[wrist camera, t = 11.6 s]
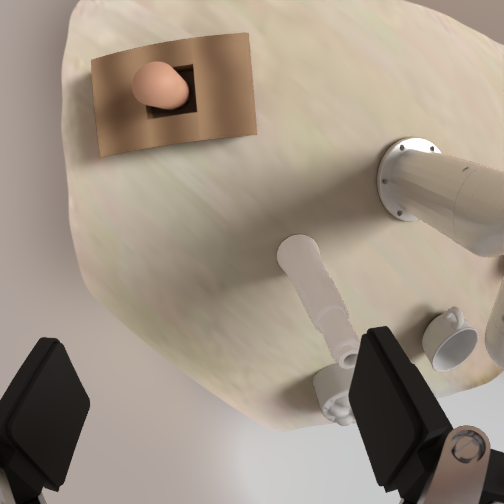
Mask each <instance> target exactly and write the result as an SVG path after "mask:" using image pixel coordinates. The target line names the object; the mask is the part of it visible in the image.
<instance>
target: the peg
mask: <svg viewBox="0 0 504 504" xmlns="http://www.w3.org/2000/svg"><path fill="white" fill-rule="evenodd" d="M132 92H133V94H134V96H135V98H136V99H137V100H138V101H139V102H141V103H142V104H145V105H149V106H153V107H158V108H163V109H167V110H172V111H175V110H180V109H182V108H184V107H185V106H186V105H187V104H188V103H189V101H190V99H191V95H192V92H191V88H190V86H189V85H188V84H187V83H186V82H185V81H184V80H183V78H182V77H181V76H180V75H179V74H178V73H177V72H176V71H175V70H174V69H173V68H172V67H171V66H170V65H168V64H166V63H164V62H159V61H158V62H150V63H147V64H145V65H144V66H142V67H141V68H140V69H139V70H138V71H137V72H136V74H135V75H134V77H133V80H132Z"/></svg>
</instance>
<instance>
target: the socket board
mask: <svg viewBox="0 0 504 504" xmlns="http://www.w3.org/2000/svg"><path fill="white" fill-rule="evenodd" d="M158 61H159V62H164V63H166V64H168V65H170V66H171V67H172V68H173V69H174V70H175V71H176V72H177V73H178V74H179V75H180V76H181V77H182V78H183V80H184V81H185V82H186V83H187V84H188V85H189V86H190V88H191V92H192V95H191V99H190V101H189V103H188V104H187V105H186V106H185V107H184V108H182V109H180V110H175V111H172V110H167V109H163V108H158V107H153V106H149V105H145V104H142V103H141V102H139V101H138V100H137V99H136V98H135V96H134V94H133V92H132V80H133V77H134V75H135V74H136V72H137V71H138V70H139V69H140V68H141V67H142V66H144V65H145V64H147V63H150V62H158ZM91 69H92V85H93V98H94V109H95V119H96V128H97V136H98V143H99V151H100V157H104V156H108V155H113V154H118V153H123V152H129V151H134V150H140V149H145V148H151V147H157V146H164V145H170V144H177V143H184V142H192V141H200V140H208V139H217V138H226V137H237V136H248V135H257V126H256V114H255V102H254V90H253V78H252V66H251V55H250V43H249V33H237V34H224V35H213V36H204V37H196V38H189V39H182V40H175V41H169V42H164V43H158V44H153V45H148V46H143V47H139V48H134V49H130V50H126V51H122V52H118V53H114V54H110V55H106V56H103V57H99V58H96V59H92V60H91Z"/></svg>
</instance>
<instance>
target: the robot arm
mask: <svg viewBox="0 0 504 504" xmlns="http://www.w3.org/2000/svg"><path fill="white" fill-rule="evenodd" d="M399 147H400V148H399ZM382 180H383V182H382ZM377 186H378V193H379V196H380V199H381V201H382V203H383V205H384V206H385V208H386V209H387V210H388V211H389V212H390V213H391V214H392V215H393V216H395V217H396V218H398V219H401V220H403V221H408V222H414V221H419V220H422V221H423V222H425V223H427V224H428V225H430V226H432V227H433V228H435V229H436V230H438V231H439V232H441V233H443V234H444V235H446V236H447V237H449V238H450V239H452V240H453V241H455V242H456V243H458V244H459V245H461V246H462V247H464V248H466V249H467V250H469V251H470V252H472V253H474V254H475V255H478V256H481V257H496V256H500V255H503V254H504V172H503V171H500V170H497V169H494V168H490V167H487V166H484V165H480V164H477V163H474V162H470V161H467V160H463V159H460V158H456V157H452V156H448V155H444V154H442V153H441V152H440V150H439V149H438V148H437V147H436V146H435V145H434V144H433V143H431V142H430V141H428V140H426V139H423V138H418V137H408V138H404V139H401V140H399V141H397V142H396V143H395V144H393V145H392V146H391V147H390V148H389V149H388V150H387V152H386V153H385V155H384V156H383V158H382V160H381V163H380V165H379V170H378V175H377ZM485 345H486V349H487V351H488V354H489V356H490V357H491V358H492V360H493V361H494V362H495V363H496V364H497V365H498V366H499V367H500V368H502V369H503V370H504V277H503V280H502V283H501V287H500V290H499V293H498V296H497V298H496V301H495V304H494V307H493V309H492V312H491V315H490V318H489V321H488V324H487V327H486V332H485ZM348 398H349V403H350V406H351V409H352V412H353V414H354V417H355V420H356V423H357V425H358V428H359V431H360V434H361V437H362V439H363V442H364V445H365V448H366V451H367V454H368V457H369V460H370V463H371V466H372V469H373V472H374V475H375V477H376V481H377V483H378V485H379V486H384V488H385V491H386V493H387V492H390V491H393V490H396V489H398V492H399V494H400V497H401V501H400V503H399V504H504V453H503V452H500V451H496V450H493V449H490V442H489V439H488V437H487V436H486V434H485V433H484V432H483V431H481V430H480V429H479V428H476V427H474V426H468V425H465V426H459V427H457V428H455V429H453V427H452V425H451V424H450V422H449V420H448V418H447V417H446V415H445V413H444V411H443V410H442V408H441V406H440V405H439V403H438V401H437V399H436V398H435V396H434V394H433V393H432V391H431V389H430V388H429V386H428V384H427V383H426V381H425V380H424V378H423V376H422V375H421V373H420V372H419V370H418V368H417V367H416V366H415V365H414V364H412V363H411V362H410V360H409V359H408V357H407V355H406V354H405V352H404V351H403V349H402V348H401V346H400V344H399V343H398V341H397V340H396V338H395V337H394V335H393V334H392V332H391V331H390V329H389V328H388V327H387V326H383V327H376V328H370V329H368V331H367V334H363V335H362V338H361V342H360V347H359V352H358V356H357V360H356V365H355V369H354V373H353V377H352V381H351V385H350V389H349V393H348ZM89 408H90V400H89V397H88V395H87V393H86V392H85V389H84V388H83V386H82V384H81V382H80V380H79V377H78V376H77V373H76V371H75V369H74V367H73V365H72V363H71V361H70V359H69V356H68V354H67V352H66V350H65V347H64V345H63V344H62V343H60V341H59V340H58V339H56V338H46V337H43V338H40V339H39V341H38V342H37V343H36V345H35V346H34V348H33V349H32V351H31V352H30V354H29V355H28V357H27V358H26V360H25V361H24V363H23V365H22V366H21V368H20V369H19V371H18V372H17V374H16V375H15V377H14V378H13V380H12V382H11V383H10V385H9V387H8V388H7V390H6V392H5V393H4V395H3V397H2V398H1V400H0V504H47V503H46V501H45V499H44V497H43V494H42V492H41V491H42V488H43V487H45V488H47V489H50V490H53V491H56V492H58V491H59V487H60V486H61V485H63V483H64V481H65V478H66V475H67V472H68V469H69V466H70V462H71V459H72V456H73V453H74V450H75V447H76V444H77V442H78V439H79V436H80V433H81V430H82V427H83V424H84V422H85V419H86V416H87V414H88V411H89Z"/></svg>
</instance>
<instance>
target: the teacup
mask: <svg viewBox="0 0 504 504" xmlns="http://www.w3.org/2000/svg"><path fill="white" fill-rule="evenodd" d="M478 336H479V335H478V332H477V330H476V329H474V328H473V327H472V326H471V324H470V323H469V322H468V321H467V320H466V319H465V318H464V317H463V314H462V311H461V310H460V309H459V308H458V307H452V308H450V309H448V310H447V311H445V312H444V313H443V314H442V315H440V316H438V317H436V318H435V319H434V320H433V321H432V322H431V323H430V324H429V325H428V327H427V329H426V331H425V333H424V335H423V339H422V346H423V349H424V352H425V354H426V356H427V357H428V359H429V361H430V362H431V364H432V367H433V369H434V370H435V371H437V372H446V371H450V370H452V369H454V368H456V367H458V366H459V365H461V364H462V363H463V362H464V361H465V360H466V359H467V358H468V357H469V356H470V355H471V354H472V352H473V351H474V349H475V347H476V345H477V343H478Z"/></svg>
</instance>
